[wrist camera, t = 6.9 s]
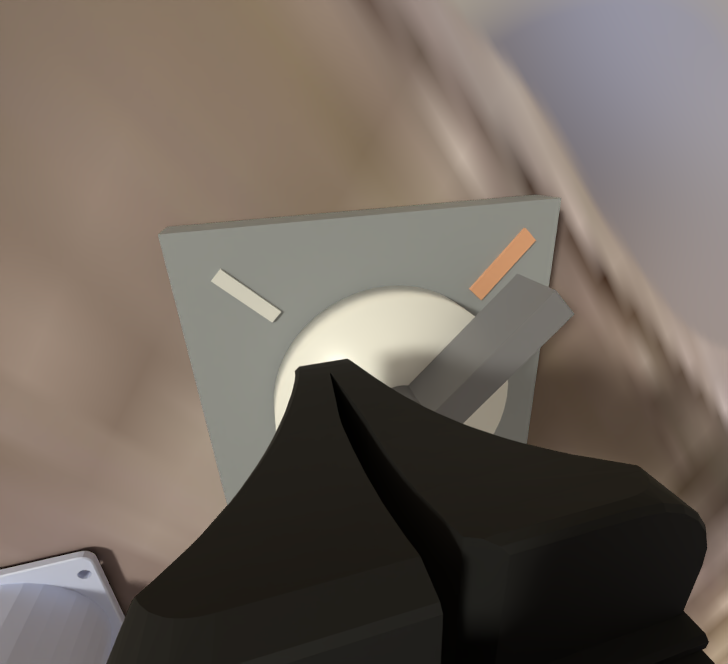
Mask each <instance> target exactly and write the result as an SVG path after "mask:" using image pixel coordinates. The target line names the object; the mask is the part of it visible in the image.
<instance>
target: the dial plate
mask: <svg viewBox="0 0 728 664" xmlns="http://www.w3.org/2000/svg"><path fill="white" fill-rule="evenodd" d="M560 203H561V198H557V197H550V196H542V195H526V196H515V197H504V198H492V199H481V200H469V201H458V202H446V203H435V204H423V205H412V206H401V207H389V208H378V209H366V210H355V211H343V212H332V213H320V214H309V215H298V216H286V217H275V218H263V219H252V220H240V221H229V222H218V223H206V224H195V225H183V226H172V227H166V228H165V229H164V230H163V231H162V232H160V233H159V234H158V237H159V241H160V245H161V249H162V252H163V256H164V260H165V264H166V268H167V272H168V276H169V280H170V284H171V288H172V291H173V295H174V299H175V303H176V307H177V311H178V315H179V319H180V323H181V327H182V330H183V334H184V338H185V342H186V346H187V350H188V354H189V358H190V362H191V366H192V369H193V373H194V377H195V381H196V385H197V389H198V393H199V397H200V401H201V405H202V408H203V412H204V416H205V420H206V424H207V428H208V432H209V436H210V440H211V444H212V447H213V451H214V455H215V459H216V463H217V467H218V471H219V475H220V479H221V482H222V486H223V490H224V494H225V498H226V502H227V505H228V504H229V503H230V502H231V500H232V499H233V498H234V496H235V495H236V494H237V493H238V491H239V490H240V489H241V487H242V486H243V484H244V483H245V482H246V480H247V479H248V477H249V476H250V475H251V473H252V472H253V470H254V469H255V467H256V466H257V464H258V463H259V461H260V460H261V458H262V456H263V455H264V453H265V451H266V450H267V448H268V446H269V444H270V442H271V441H272V439H273V437H274V435H275V433H276V425H275V413H274V389H275V381H276V378H277V374H278V370H279V367H280V365H281V363H282V360H283V358H284V356H285V354H286V352H287V350H288V349H289V347H290V345H291V344H292V342H293V341H294V339H295V338H296V337H297V336H298V334H299V333H300V332H301V331H302V329H303V328H304V327H305V326H306V325H307V324H308V323H309V322H310V321H311V320H312V319H313V318H314V317H316V316H317V315H318V314H320V313H321V312H322V311H324V310H325V309H326V308H328V307H329V306H331V305H333V304H335V303H336V302H338V301H340V300H341V299H344V298H346V297H348V296H351V295H353V294H355V293H358V292H361V291H365V290H368V289H372V288H377V287H384V286H401V285H405V286H413V287H420V288H424V289H428V290H432V291H434V292H437V293H439V294H441V295H444V296H446V297H447V298H449V299H451V300H452V301H454V302H456V303H457V304H458V305H460V306H461V307H463V308H464V309H465V310H467V311H468V312H470V313H471V314H472V315H474V316H476V315H477V314H478V313H479V312H480V311H481V310H482V309H483V308H484V307H485V306H486V305H487V304H488V303H489V302H490V301H491V300H492V299H493V298H494V297H495V296H496V295H497V294H498V293H499V292H500V291H501V290H502V289H503V288H504V287H505V286H506V285H507V284H508V283H509V282H510V281H511V279H512V278H513V277H514V276H515V275H516V274H520V275H522V276H524V277H526V278H529V279H531V280H533V281H535V282H538V283H540V284H542V285H545V286H547V287H549V281H550V274H551V267H552V260H553V253H554V246H555V239H556V231H557V224H558V217H559V210H560ZM539 353H540V348H539V349H538V350H537V351H536V352H535V353H534V354H533V355H532V356H531V357H530V358H529V359H528V360H527V361H526V362H525V363H524V364H523V365H522V366H521V367H520V368H519V369H518V370H517V371H516V372H515V373H514V374H513V375H512V376H511V377H510V378H509V379H508V391H507V399H506V403H505V408H504V411H503V414H502V417H501V420H500V422H499V424H498V426H497V428H496V430H495V433H494V435H497V436H500V437H503V438H507V439H510V440H514V441H517V442H521V443H525V444H527V438H528V431H529V424H530V417H531V410H532V403H533V395H534V388H535V381H536V374H537V367H538V360H539Z"/></svg>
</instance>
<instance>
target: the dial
mask: <svg viewBox="0 0 728 664" xmlns="http://www.w3.org/2000/svg"><path fill="white" fill-rule="evenodd" d="M573 315H574V313H573V312H572V310H571V309H570V308H569V306H568V305H567V304H566V303H565V301H564V300H563V299H562V298H561V296H560V295H559V294H558V293H557V291H556V290H554V289H551V288H549V287H547V286H545V285H542V284H540V283H538V282H535V281H533V280H531V279H529V278H526V277H524V276H522V275H520V274H516V275H515V276H514V277H513V278H512V279H511V281H510V282H509V283H508V284H507V285H506V286H505V287H504V288H503V289H502V290H501V291H500V292H499V293H498V294H497V295H496V296H495V297H494V298H493V299H492V300H491V301H490V302H489V303H488V304H487V305H486V306H485V307H484V308H483V309H482V310H481V311H480V312H479V313H478V314H477V315H476V316H474V315H472V314H471V313H470V312H468V311H467V310H465V309H464V308H463V307H461V306H460V305H458V304H457V303H456V302H454V301H452V300H451V299H449V298H447V297H446V296H444V295H441V294H439V293H437V292H434V291H432V290H428V289H424V288H420V287H413V286H405V285H401V286H384V287H377V288H372V289H368V290H365V291H361V292H358V293H355V294H353V295H351V296H348V297H346V298H344V299H341V300H340V301H338V302H336V303H335V304H333V305H331V306H329V307H328V308H326V309H325V310H324V311H322V312H321V313H320V314H318V315H317V316H316V317H314V318H313V319H312V320H311V321H310V322H309V323H308V324H307V325H306V326H305V327H304V328H303V329H302V331H301V332H300V333H299V334H298V336H297V337H296V338H295V339H294V341H293V342H292V344H291V345H290V347H289V349H288V350H287V352H286V354H285V356H284V358H283V360H282V363H281V365H280V367H279V370H278V374H277V378H276V381H275V389H274V413H275V425H276V431H277V428H278V426H279V424H280V422H281V420H282V418H283V415H284V413H285V411H286V408H287V405H288V402H289V399H290V396H291V393H292V389H293V386H294V381H295V370H296V369H297V368H298V367H299V366H304V365H311V364H317V363H323V362H329V361H335V360H341V359H347V358H348V359H349V360H351V361H352V362H354V363H355V364H356V365H358V366H359V367H361V368H362V369H363V370H365V371H366V372H368V373H369V374H371V375H372V376H374V377H375V378H377V379H378V380H380V381H381V382H383V383H384V384H386V385H387V386H389V387H390V388H392V389H394V390H395V391H397V392H399V393H400V394H402V395H404V396H405V397H407V398H409V399H411V400H413V401H415V402H417V403H418V404H420V405H422V406H424V407H426V408H428V409H430V410H432V411H434V412H436V413H439V414H441V415H443V416H446V417H448V418H450V419H453V420H455V421H457V422H460V423H462V424H465V425H468V426H470V427H473V428H476V429H479V430H482V431H485V432H488V433H491V434H494V433H495V430H496V428H497V426H498V424H499V422H500V420H501V417H502V414H503V411H504V408H505V403H506V399H507V391H508V379H509V378H510V377H511V376H512V375H513V374H514V373H515V372H516V371H517V370H518V369H519V368H520V367H521V366H522V365H523V364H524V363H525V362H526V361H527V360H528V359H529V358H530V357H531V356H532V355H533V354H534V353H535V352H536V351H537V350H538V349H539V348H540V347H541V346H542V345H543V344H544V343H546V342H547V341H548V340H549V339H550V338H551V337H552V336H553V335H554V334H555V333H556V332H557V331H558V330H559V329H560V328H561V327H562V326H563V325H564V324H565V323H566V322H567V321H568V320H569V319H570V318H571V317H572V316H573Z"/></svg>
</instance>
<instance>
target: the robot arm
mask: <svg viewBox="0 0 728 664" xmlns="http://www.w3.org/2000/svg"><path fill="white" fill-rule="evenodd" d="M706 550H707V540H706V528H705V524H704V523H703V521H702V519H701V518H700V516H699V514H698V513H697V512H696V511H695V510H693V509H692V508H691V507H690V506H688V505H687V504H686V503H685V502H683V501H682V500H681V499H680V498H678V497H677V496H676V495H675V494H673V493H672V492H671V491H669V490H668V489H667V488H666V487H664V486H663V485H662V484H661V483H659V482H658V481H657V480H656V479H654V478H653V477H652V476H651V475H649V474H648V473H647V472H646V471H644V470H643V469H642V468H640V467H639V466H637V465H631V464H625V463H619V462H613V461H607V460H601V459H595V458H589V457H584V456H578V455H572V454H567V453H562V452H558V451H554V450H549V449H545V448H541V447H537V446H532V445H528V444H525V443H521V442H517V441H514V440H510V439H507V438H503V437H500V436H497V435H494V434H491V433H488V432H485V431H482V430H479V429H476V428H473V427H470V426H468V425H465V424H462V423H460V422H457V421H455V420H453V419H450V418H448V417H446V416H443V415H441V414H439V413H436V412H434V411H432V410H430V409H428V408H426V407H424V406H422V405H420V404H418V403H417V402H415V401H413V400H411V399H409V398H407V397H405V396H404V395H402V394H400V393H399V392H397V391H395V390H394V389H392V388H390V387H389V386H387V385H386V384H384V383H383V382H381V381H380V380H378V379H377V378H375V377H374V376H372V375H371V374H369V373H368V372H366V371H365V370H363V369H362V368H361V367H359V366H358V365H356V364H355V363H354V362H352V361H351V360H349V359H348V358H347V359H341V360H335V361H329V362H323V363H317V364H311V365H304V366H299V367H298V368H297V369H296V370H295V381H294V386H293V389H292V393H291V396H290V399H289V402H288V405H287V408H286V411H285V413H284V415H283V418H282V420H281V422H280V424H279V426H278V428H277V431H276V433H275V435H274V437H273V439H272V441H271V442H270V444H269V446H268V448H267V450H266V451H265V453H264V455H263V456H262V458H261V460H260V461H259V463H258V464H257V466H256V467H255V469H254V470H253V472H252V473H251V475H250V476H249V477H248V479H247V480H246V482H245V483H244V484H243V486H242V487H241V489H240V490H239V491H238V493H237V494H236V495H235V496H234V498H233V499H232V500H231V502H230V503H229V504H228V505H227V506H226V507H225V509H224V510H223V511H222V512H221V513H220V514H219V515H218V516H217V518H216V519H215V520H214V521H213V522H212V523H211V524H210V526H209V527H208V528H207V529H206V530H205V531H204V532H203V534H202V535H201V536H200V537H199V538H198V539H197V540H196V541H195V542H194V543H193V544H192V545H191V546H190V547H189V548H188V549H187V550H186V551H185V552H184V553H182V554H181V555H180V556H179V557H178V558H177V559H176V560H175V561H174V562H173V563H172V564H171V565H170V566H169V567H167V568H166V569H165V570H164V571H163V572H162V573H161V574H160V575H159V576H158V577H157V578H156V579H155V580H154V581H152V582H151V583H150V584H149V585H148V586H147V587H146V588H145V589H144V590H142V591H141V592H140V593H139V594H138V595H137V596H135V598H134V599H133V600H132V603H131V605H130V607H129V609H128V612H127V614H126V616H124V614H123V612H122V610H121V608H120V606H119V604H118V601H117V599H116V597H115V595H114V593H113V591H112V589H111V587H110V584H109V582H108V580H107V578H106V576H105V574H104V572H103V569H102V567H101V565H100V563H99V561H98V559H97V557H96V555H95V554H94V553H92V552H90V551H79V552H75V553H71V554H66V555H62V556H58V557H53V558H49V559H45V560H40V561H36V562H31V563H27V564H23V565H18V566H14V567H10V568H5V569H1V570H0V664H715V663H714V662H713V661H712V660H711V659H710V658H709V657H708V656H707V655H706V654H705V653H704V652H703V650H702V649H704V648H706V646H707V644H708V642H709V641H708V639H707V637H706V634H705V633H704V632H703V631H702V630H701V629H700V628H699V626H698V625H697V624H696V623H695V622H694V621H693V620H692V619H691V618H690V617H689V616H688V615H687V614H686V613H685V612H684V611H683V610H684V608H685V605H686V603H687V601H688V598H689V596H690V593H691V591H692V589H693V586H694V584H695V581H696V579H697V577H698V574H699V572H700V570H701V567H702V564H703V561H704V557H705V554H706ZM86 570H87V571H86Z"/></svg>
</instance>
